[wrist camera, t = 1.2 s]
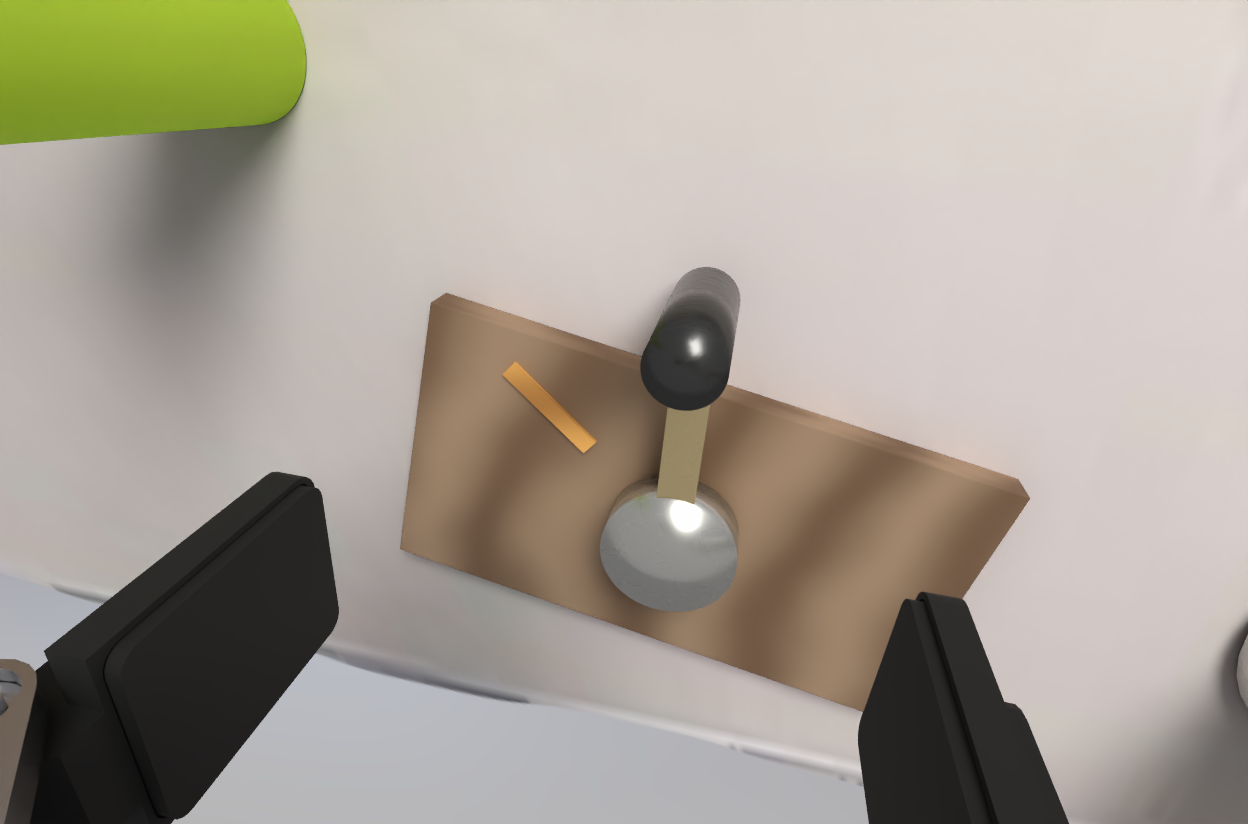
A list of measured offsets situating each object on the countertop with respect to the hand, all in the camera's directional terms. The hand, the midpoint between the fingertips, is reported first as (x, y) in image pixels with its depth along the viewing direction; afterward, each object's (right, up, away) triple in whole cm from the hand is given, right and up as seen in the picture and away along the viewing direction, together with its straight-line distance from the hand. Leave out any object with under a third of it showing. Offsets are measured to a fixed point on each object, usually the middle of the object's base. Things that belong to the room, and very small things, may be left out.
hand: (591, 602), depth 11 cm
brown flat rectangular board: (+3, -2, +22) cm, 22 cm away
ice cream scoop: (+3, +2, +18) cm, 18 cm away
